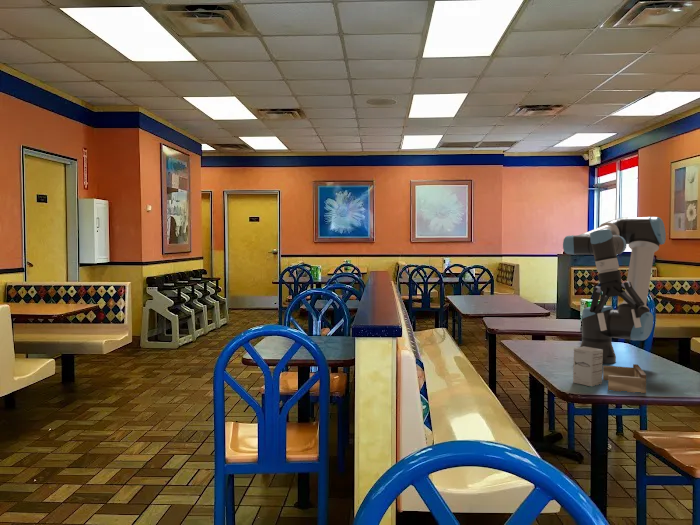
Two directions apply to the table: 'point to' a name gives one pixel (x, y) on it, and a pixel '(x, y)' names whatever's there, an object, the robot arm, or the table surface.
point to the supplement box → (587, 366)
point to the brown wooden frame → (625, 378)
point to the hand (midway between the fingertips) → (620, 329)
